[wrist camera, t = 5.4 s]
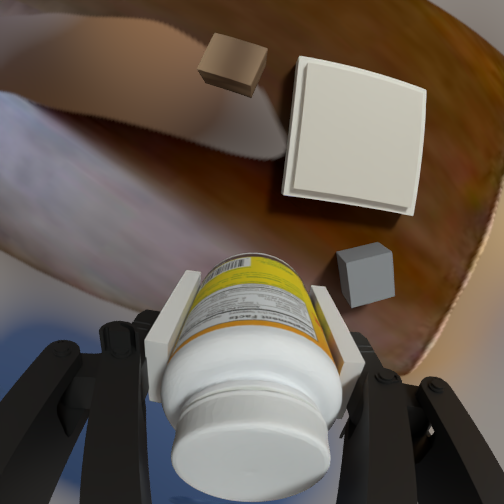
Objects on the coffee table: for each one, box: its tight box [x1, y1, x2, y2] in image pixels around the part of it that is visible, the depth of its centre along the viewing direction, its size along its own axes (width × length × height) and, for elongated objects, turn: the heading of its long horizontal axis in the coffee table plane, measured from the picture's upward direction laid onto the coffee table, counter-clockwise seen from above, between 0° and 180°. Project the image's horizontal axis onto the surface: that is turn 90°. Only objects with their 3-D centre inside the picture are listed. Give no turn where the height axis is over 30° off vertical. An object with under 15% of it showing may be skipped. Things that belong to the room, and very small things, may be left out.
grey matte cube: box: [336, 242, 395, 308], centre depth 31 cm, size 5×5×4 cm
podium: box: [281, 56, 426, 216], centre depth 27 cm, size 14×14×3 cm
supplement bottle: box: [161, 253, 342, 502], centre depth 11 cm, size 6×6×10 cm
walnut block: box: [197, 33, 268, 98], centre depth 25 cm, size 5×4×5 cm
